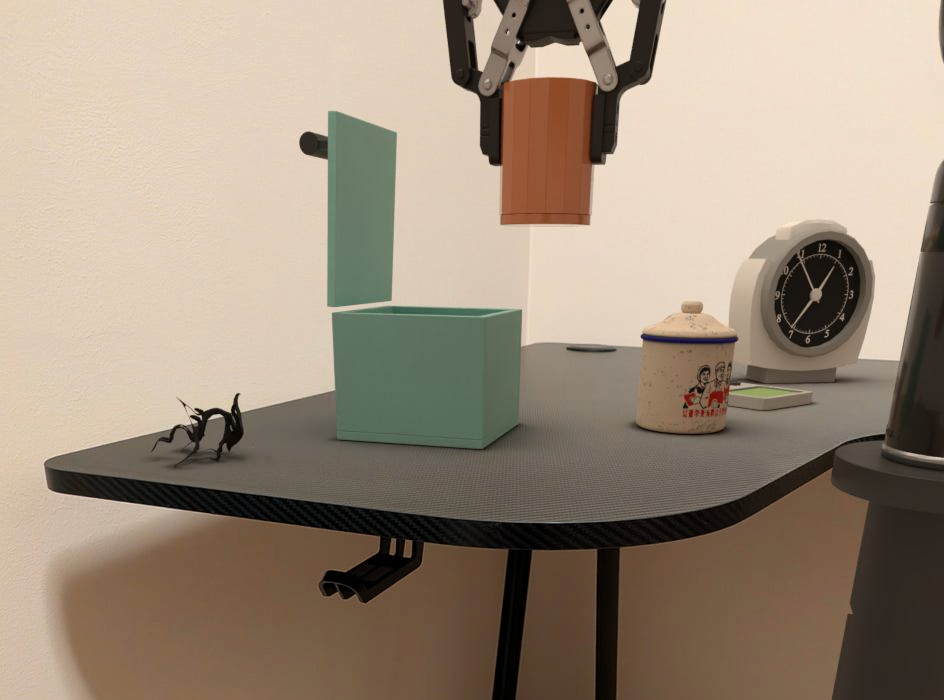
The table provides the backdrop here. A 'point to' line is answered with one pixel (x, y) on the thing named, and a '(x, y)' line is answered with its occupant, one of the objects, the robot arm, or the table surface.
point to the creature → (198, 431)
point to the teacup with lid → (685, 373)
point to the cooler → (427, 374)
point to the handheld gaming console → (765, 396)
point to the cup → (546, 152)
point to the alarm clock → (802, 303)
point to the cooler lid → (357, 208)
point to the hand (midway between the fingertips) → (547, 163)
